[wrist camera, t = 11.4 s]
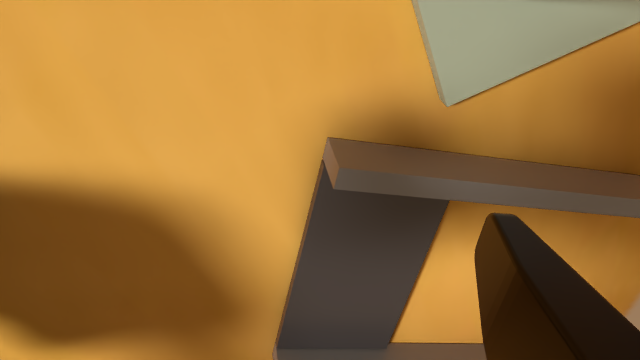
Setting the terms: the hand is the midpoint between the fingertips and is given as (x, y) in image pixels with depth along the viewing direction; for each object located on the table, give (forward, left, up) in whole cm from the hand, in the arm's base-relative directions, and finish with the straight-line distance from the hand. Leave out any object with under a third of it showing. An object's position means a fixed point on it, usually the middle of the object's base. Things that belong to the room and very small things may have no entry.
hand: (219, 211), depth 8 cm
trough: (-3, -17, -11) cm, 21 cm away
